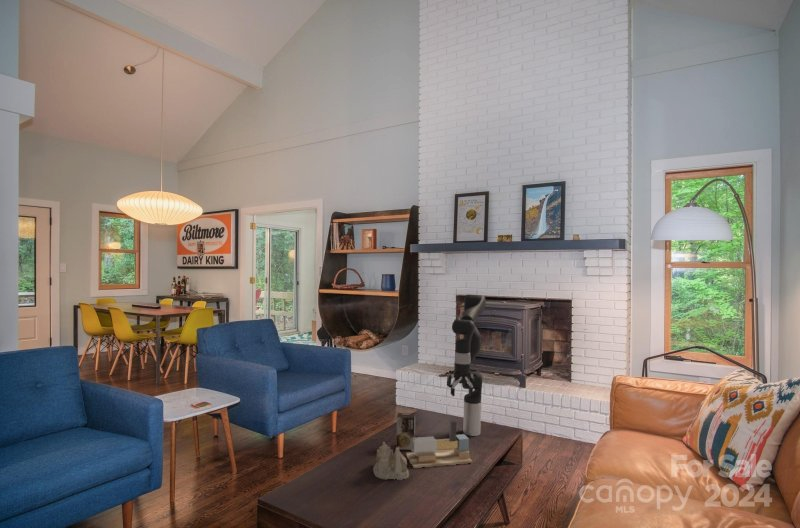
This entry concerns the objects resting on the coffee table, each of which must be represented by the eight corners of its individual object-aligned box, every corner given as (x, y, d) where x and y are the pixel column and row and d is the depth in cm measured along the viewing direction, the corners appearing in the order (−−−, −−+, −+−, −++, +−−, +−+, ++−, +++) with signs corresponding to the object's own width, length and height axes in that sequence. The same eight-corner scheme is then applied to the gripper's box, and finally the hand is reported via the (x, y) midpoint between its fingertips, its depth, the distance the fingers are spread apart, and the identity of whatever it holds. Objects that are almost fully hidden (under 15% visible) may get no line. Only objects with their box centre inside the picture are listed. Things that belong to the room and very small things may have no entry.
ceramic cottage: (407, 481, 190) (407, 445, 190) (369, 478, 192) (369, 442, 193) (412, 467, 205) (412, 433, 206) (377, 465, 208) (377, 431, 209)
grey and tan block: (409, 454, 214) (409, 436, 214) (431, 452, 216) (431, 434, 216) (415, 463, 204) (415, 444, 204) (437, 461, 207) (438, 442, 207)
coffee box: (415, 445, 228) (415, 413, 227) (414, 450, 221) (415, 417, 221) (397, 444, 228) (397, 412, 228) (395, 449, 222) (396, 416, 222)
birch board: (406, 455, 216) (406, 452, 216) (461, 450, 222) (461, 448, 222) (413, 468, 202) (413, 465, 202) (472, 463, 208) (472, 460, 208)
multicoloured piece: (430, 447, 213) (430, 421, 213) (462, 444, 216) (462, 419, 216) (432, 450, 209) (432, 423, 209) (464, 447, 213) (465, 421, 213)
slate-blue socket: (453, 451, 218) (454, 433, 218) (463, 451, 219) (463, 433, 219) (459, 458, 210) (460, 440, 210) (469, 458, 211) (469, 439, 211)
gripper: (473, 359, 220) (472, 392, 220) (445, 360, 217) (444, 393, 217) (479, 363, 213) (478, 397, 213) (450, 364, 210) (449, 398, 210)
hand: (461, 395), depth 215 cm, fingers open, 8 cm apart
